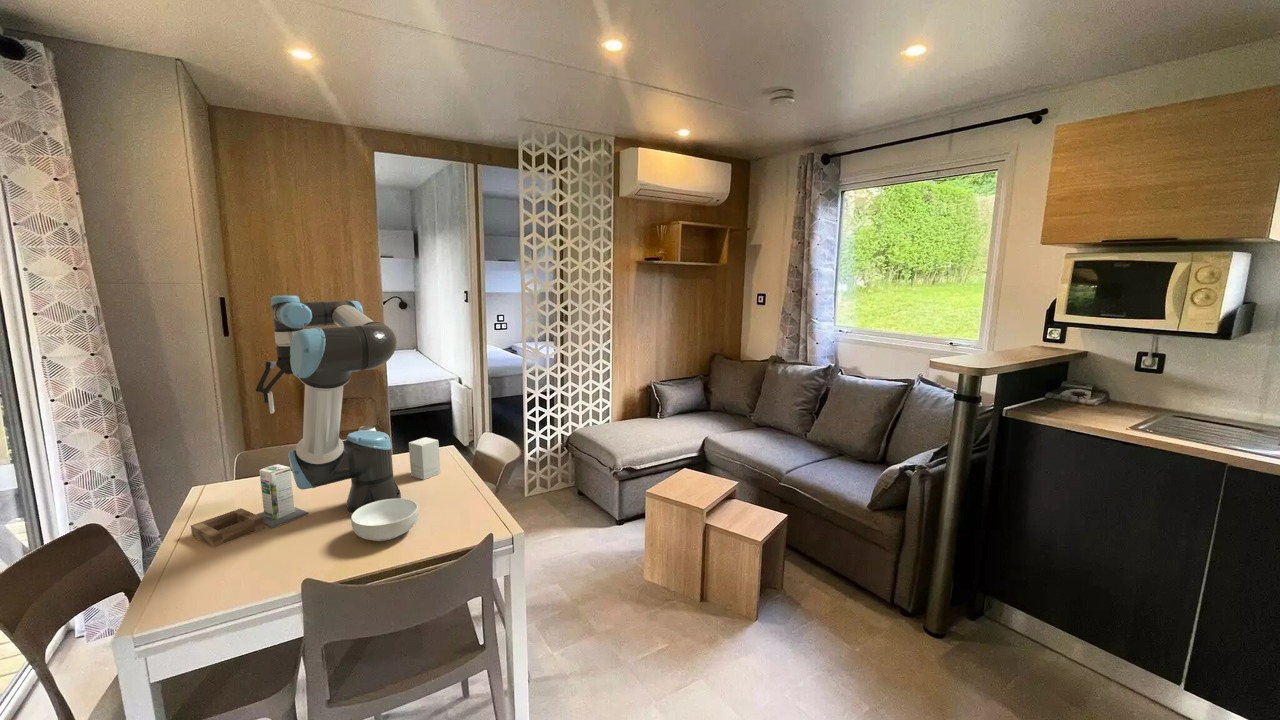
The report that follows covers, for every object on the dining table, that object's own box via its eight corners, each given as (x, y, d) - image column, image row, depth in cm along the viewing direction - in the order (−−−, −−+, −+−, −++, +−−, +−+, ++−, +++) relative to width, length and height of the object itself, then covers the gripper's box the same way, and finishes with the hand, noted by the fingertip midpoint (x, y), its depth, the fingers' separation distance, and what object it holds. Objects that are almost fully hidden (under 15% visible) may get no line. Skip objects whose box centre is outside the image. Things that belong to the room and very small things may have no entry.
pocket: (264, 528, 146) (262, 517, 145) (213, 547, 135) (212, 536, 135) (242, 518, 151) (241, 508, 151) (192, 536, 141) (190, 525, 141)
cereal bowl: (415, 545, 138) (413, 520, 136) (345, 554, 133) (343, 529, 132) (422, 516, 154) (421, 494, 152) (361, 523, 149) (359, 500, 148)
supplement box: (441, 473, 186) (439, 440, 184) (423, 480, 180) (421, 445, 178) (428, 469, 190) (426, 436, 188) (410, 475, 184) (407, 442, 182)
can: (372, 460, 199) (370, 430, 197) (356, 459, 199) (353, 430, 197) (381, 454, 205) (379, 425, 203) (365, 453, 205) (362, 425, 203)
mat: (308, 514, 154) (308, 512, 154) (271, 528, 146) (271, 526, 146) (286, 505, 160) (286, 503, 160) (249, 518, 151) (249, 516, 151)
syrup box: (263, 516, 151) (257, 469, 149) (283, 508, 157) (278, 463, 154) (275, 520, 149) (270, 472, 147) (296, 511, 155) (291, 465, 152)
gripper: (336, 341, 171) (343, 403, 174) (244, 345, 160) (252, 412, 163) (335, 343, 165) (341, 407, 168) (238, 348, 154) (247, 417, 157)
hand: (297, 410), depth 166 cm, fingers open, 13 cm apart
